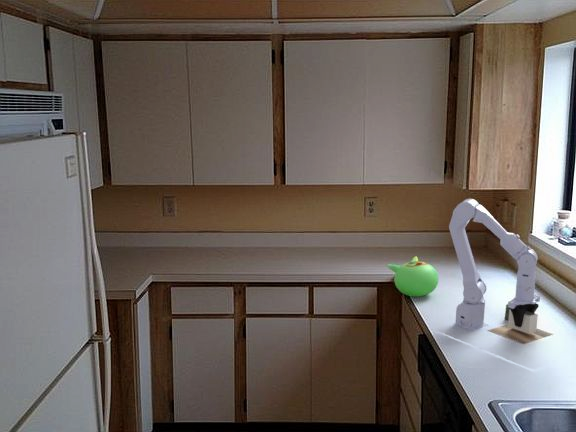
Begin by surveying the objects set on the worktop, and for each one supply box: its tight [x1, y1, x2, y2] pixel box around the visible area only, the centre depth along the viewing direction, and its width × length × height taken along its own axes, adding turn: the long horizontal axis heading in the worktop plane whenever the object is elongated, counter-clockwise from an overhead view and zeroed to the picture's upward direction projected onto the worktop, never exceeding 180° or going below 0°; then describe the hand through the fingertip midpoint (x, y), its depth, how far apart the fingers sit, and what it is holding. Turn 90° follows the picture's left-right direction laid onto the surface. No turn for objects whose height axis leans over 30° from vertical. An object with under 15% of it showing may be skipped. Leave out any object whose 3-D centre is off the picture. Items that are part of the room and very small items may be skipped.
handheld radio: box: [504, 303, 510, 321], centre depth 221 cm, size 7×3×25 cm
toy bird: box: [386, 255, 439, 298], centre depth 240 cm, size 18×17×15 cm
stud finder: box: [507, 310, 539, 334], centre depth 200 cm, size 4×8×6 cm, turn 33°
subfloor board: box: [486, 323, 554, 345], centre depth 201 cm, size 16×14×1 cm
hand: (522, 325), depth 201 cm, fingers closed on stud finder, 4 cm apart
